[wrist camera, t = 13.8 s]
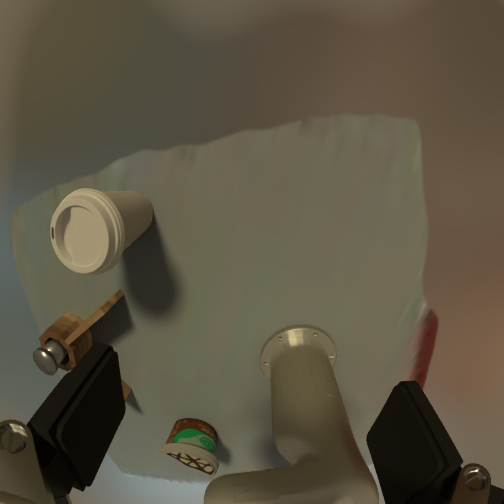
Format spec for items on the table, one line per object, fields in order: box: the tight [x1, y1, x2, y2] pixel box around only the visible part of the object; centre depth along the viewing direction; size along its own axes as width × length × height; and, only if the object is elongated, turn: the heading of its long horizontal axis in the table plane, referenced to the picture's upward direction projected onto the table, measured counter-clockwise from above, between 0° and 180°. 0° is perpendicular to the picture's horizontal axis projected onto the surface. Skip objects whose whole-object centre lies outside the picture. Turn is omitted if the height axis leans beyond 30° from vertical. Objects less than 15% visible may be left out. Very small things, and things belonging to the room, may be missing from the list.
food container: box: [161, 418, 219, 478], centre depth 48 cm, size 12×6×10 cm, turn 49°
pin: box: [33, 338, 68, 375], centre depth 42 cm, size 5×5×11 cm
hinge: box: [39, 290, 131, 401], centre depth 44 cm, size 20×20×7 cm
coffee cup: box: [50, 188, 153, 275], centre depth 33 cm, size 10×10×15 cm
